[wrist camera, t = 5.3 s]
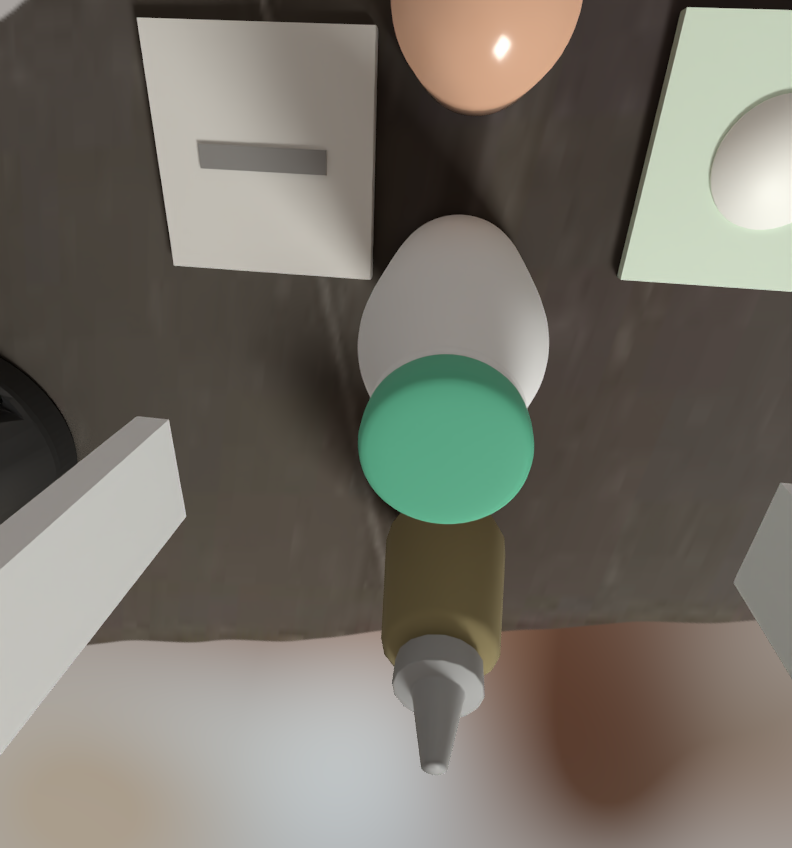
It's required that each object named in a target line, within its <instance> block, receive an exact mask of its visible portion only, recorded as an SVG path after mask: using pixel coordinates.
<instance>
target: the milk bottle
mask: <svg viewBox="0 0 792 848" xmlns="http://www.w3.org/2000/svg"><path fill="white" fill-rule="evenodd" d="M548 353H549V333H548V324H547V319H546V315H545V312H544V308H543V305H542V302H541V299H540V296H539V294H538V291H537V289H536V287H535V285H534V282H533V280H532V278H531V276H530V274H529V272H528V270H527V268H526V266H525V264H524V262H523V260H522V258H521V256H520V254H519V252H518V251H517V249H516V247H515V246H514V244H513V243H512V241H511V240H510V239H509V238H508V237H507V235H506V234H505V233H504V232H503V231H501V230H500V229H499V228H498V227H496V226H495V225H493V224H492V223H490V222H488V221H486V220H484V219H481V218H478V217H475V216H470V215H448V216H443V217H439V218H436V219H434V220H432V221H429V222H427V223H426V224H424V225H422V226H421V227H419V228H418V229H417V230H416V231H414V232H413V233H412V234H411V235H410V236H409V237H408V238H407V239H406V240H405V242H404V243H403V244H402V245H401V247H400V248H399V250H398V251H397V252H396V254H395V255H394V257H393V258H392V260H391V261H390V263H389V264H388V266H387V268H386V269H385V271H384V272H383V274H382V276H381V277H380V279H379V281H378V282H377V284H376V285H375V287H374V289H373V291H372V293H371V296H370V298H369V300H368V302H367V304H366V307H365V309H364V312H363V315H362V319H361V323H360V329H359V335H358V359H359V366H360V371H361V375H362V379H363V381H364V384H365V387H366V389H367V392H368V394H369V396H370V400H369V402H368V404H367V406H366V408H365V411H364V414H363V417H362V421H361V424H360V428H359V434H358V451H359V457H360V463H361V466H362V469H363V472H364V474H365V477H366V478H367V480H368V482H369V484H370V485H371V487H372V488H373V489H374V491H375V492H376V493H377V494H378V495H379V496H380V497H381V498H382V499H383V500H384V501H385V502H386V503H387V504H389V505H390V506H391V507H393V508H394V509H396V510H398V511H399V512H401V513H403V514H405V515H407V516H410V517H412V518H415V519H418V520H421V521H425V522H430V523H437V524H458V523H465V522H470V521H474V520H478V519H481V518H483V517H486V516H488V515H490V514H492V513H494V512H496V511H497V510H499V509H500V508H502V507H503V506H505V505H506V504H507V503H508V502H509V501H511V500H512V499H513V497H514V496H515V495H516V494H517V493H518V492H519V490H520V489H521V487H522V486H523V484H524V482H525V480H526V478H527V476H528V474H529V471H530V468H531V465H532V460H533V455H534V438H533V430H532V424H531V420H530V416H529V413H528V410H527V407H528V406H529V404H530V403H531V401H532V400H533V398H534V396H535V395H536V393H537V391H538V389H539V387H540V385H541V382H542V379H543V377H544V373H545V369H546V365H547V361H548Z"/></svg>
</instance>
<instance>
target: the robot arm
mask: <svg viewBox="0 0 792 848" xmlns="http://www.w3.org/2000/svg"><path fill="white" fill-rule="evenodd" d="M185 517H186V513H185V507H184V502H183V496H182V490H181V485H180V479H179V474H178V468H177V463H176V457H175V452H174V446H173V440H172V435H171V429H170V424H169V420H168V419H159V418H149V417H139V416H137V417H135V418H134V419H133V420H132V421H130V422H129V423H128V424H126V425H125V426H124V427H123V428H121V429H120V430H119V431H118V432H116V433H115V434H114V435H113V436H111V437H110V438H109V439H108V440H106V441H105V442H104V443H103V444H101V445H100V446H99V447H98V448H96V449H95V450H94V451H93V452H91V453H90V454H89V455H88V456H86V457H85V458H84V459H82V460H81V461H80V462H79V463H77V454H76V449H75V445H74V441H73V438H72V436H71V433H70V431H69V429H68V426H67V424H66V423H65V421H64V419H63V417H62V416H61V414H60V412H59V411H58V409H57V408H56V407H55V405H54V404H53V403H52V401H51V400H50V399H49V398H48V396H47V395H46V394H45V393H44V392H43V391H42V390H41V389H40V388H39V387H38V386H37V385H36V384H35V383H34V382H33V381H32V380H31V379H30V378H28V377H27V376H26V375H25V374H24V373H22V372H21V371H20V370H18V369H17V368H16V367H14V366H13V365H11V364H10V363H8V362H6V361H5V360H3V359H1V358H0V755H1V754H2V753H3V751H4V750H5V749H6V747H7V746H8V745H9V744H10V742H11V741H12V740H13V739H14V737H15V736H16V735H17V733H18V732H19V731H20V729H21V728H22V727H23V726H24V724H25V723H26V722H27V721H28V719H29V718H30V717H31V715H32V714H33V713H34V712H35V710H36V709H37V708H38V706H39V705H40V704H41V703H42V701H43V700H44V699H45V697H46V696H47V695H48V694H49V692H50V691H51V690H52V688H53V687H54V686H55V685H56V683H57V682H58V681H59V679H60V678H61V677H62V676H63V674H64V673H65V672H66V670H67V669H68V668H69V667H70V665H71V664H72V663H73V661H74V660H75V659H76V658H77V656H78V655H79V654H80V652H81V651H82V650H83V648H84V647H85V646H86V645H87V643H88V642H89V641H90V640H91V638H92V637H93V636H94V634H95V633H96V632H97V631H98V629H99V628H100V627H101V625H102V624H103V623H104V622H105V620H106V619H107V618H108V616H109V615H110V614H111V613H112V611H113V610H114V609H115V607H116V606H117V605H118V604H119V602H120V601H121V600H122V598H123V597H124V596H125V595H126V593H127V592H128V591H129V589H130V588H131V587H132V586H133V584H134V583H135V582H136V580H137V579H138V578H139V577H140V575H141V574H142V573H143V571H144V570H145V569H146V568H147V566H148V565H149V564H150V562H151V561H152V560H153V559H154V557H155V556H156V555H157V553H158V552H159V551H160V550H161V548H162V547H163V546H164V544H165V543H166V542H167V541H168V539H169V538H170V537H171V535H172V534H173V533H174V532H175V530H176V529H177V528H178V526H179V525H180V524H181V523H182V521H183V520H184V519H185ZM733 583H734V584H735V586H736V588H737V589H738V591H739V593H740V594H741V596H742V598H743V599H744V601H745V603H746V604H747V606H748V607H749V609H750V611H751V612H752V614H753V616H754V617H755V619H756V621H757V622H758V624H759V626H760V627H761V629H762V630H763V632H764V634H765V635H766V637H767V639H768V640H769V642H770V644H771V645H772V647H773V649H774V650H775V652H776V654H777V655H778V657H779V659H780V660H781V662H782V663H783V665H784V667H785V668H786V670H787V672H788V673H789V675H790V677H791V678H792V484H788V483H780V485H779V487H778V489H777V491H776V493H775V495H774V498H773V500H772V502H771V504H770V506H769V508H768V510H767V512H766V515H765V517H764V519H763V521H762V523H761V525H760V527H759V529H758V531H757V534H756V536H755V538H754V540H753V542H752V544H751V546H750V548H749V551H748V553H747V555H746V557H745V559H744V561H743V563H742V565H741V567H740V570H739V572H738V574H737V576H736V578H735V580H734V582H733Z"/></svg>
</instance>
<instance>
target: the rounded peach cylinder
mask: <svg viewBox="0 0 792 848" xmlns="http://www.w3.org/2000/svg"><path fill="white" fill-rule="evenodd" d="M582 1H583V0H391V11H392V19H393V25H394V29H395V33H396V37H397V40H398V43H399V45H400V48H401V51H402V53H403V55H404V57H405V59H406V61H407V63H408V64H409V66H410V67H411V69H412V70H413V72H414V73H415V75H416V76H417V78H418V79H419V81H420V82H421V84H422V85H423V87H424V88H425V90H426V91H427V92H428V93H429V94H430V96H431V97H432V98H433V99H434V100H436V101H437V102H438V103H439V104H440V105H442V106H443V107H445V108H446V109H448V110H451V111H453V112H455V113H459V114H462V115H468V116H483V115H489V114H493V113H496V112H499V111H501V110H503V109H505V108H507V107H509V106H510V105H512V104H513V103H515V102H516V101H518V100H519V99H520V98H521V97H522V96H523V95H525V94H526V93H527V92H528V91H529V90H530V89H531V88H532V87H533V86H534V85H535V84H536V83H537V82H538V81H539V80H540V79H542V78H543V76H544V75H545V74H546V73H547V72H548V71H549V70H550V69H551V68H552V67H553V65H554V64H555V63H556V61H557V60H558V58H559V57H560V56H561V54H562V52H563V51H564V49H565V47H566V46H567V44H568V42H569V40H570V38H571V35H572V33H573V31H574V29H575V26H576V23H577V20H578V17H579V14H580V10H581V6H582Z"/></svg>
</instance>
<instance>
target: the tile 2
mask: <svg viewBox="0 0 792 848" xmlns="http://www.w3.org/2000/svg"><path fill="white" fill-rule="evenodd" d="M617 277H618V278H619V279H620V280H632V281H647V282H661V283H675V284H690V285H704V286H718V287H732V288H747V289H761V290H775V291H790V292H792V10H770V9H734V8H698V7H687V8H685V9H684V10H682V11H681V12H680V16H679V20H678V24H677V29H676V33H675V37H674V41H673V45H672V49H671V54H670V58H669V62H668V66H667V70H666V74H665V79H664V83H663V87H662V91H661V95H660V99H659V103H658V108H657V112H656V116H655V120H654V124H653V128H652V133H651V137H650V141H649V145H648V149H647V153H646V158H645V162H644V166H643V170H642V174H641V178H640V183H639V187H638V191H637V195H636V199H635V203H634V207H633V212H632V216H631V220H630V224H629V228H628V232H627V237H626V241H625V245H624V249H623V253H622V257H621V262H620V266H619V270H618V274H617Z"/></svg>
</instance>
